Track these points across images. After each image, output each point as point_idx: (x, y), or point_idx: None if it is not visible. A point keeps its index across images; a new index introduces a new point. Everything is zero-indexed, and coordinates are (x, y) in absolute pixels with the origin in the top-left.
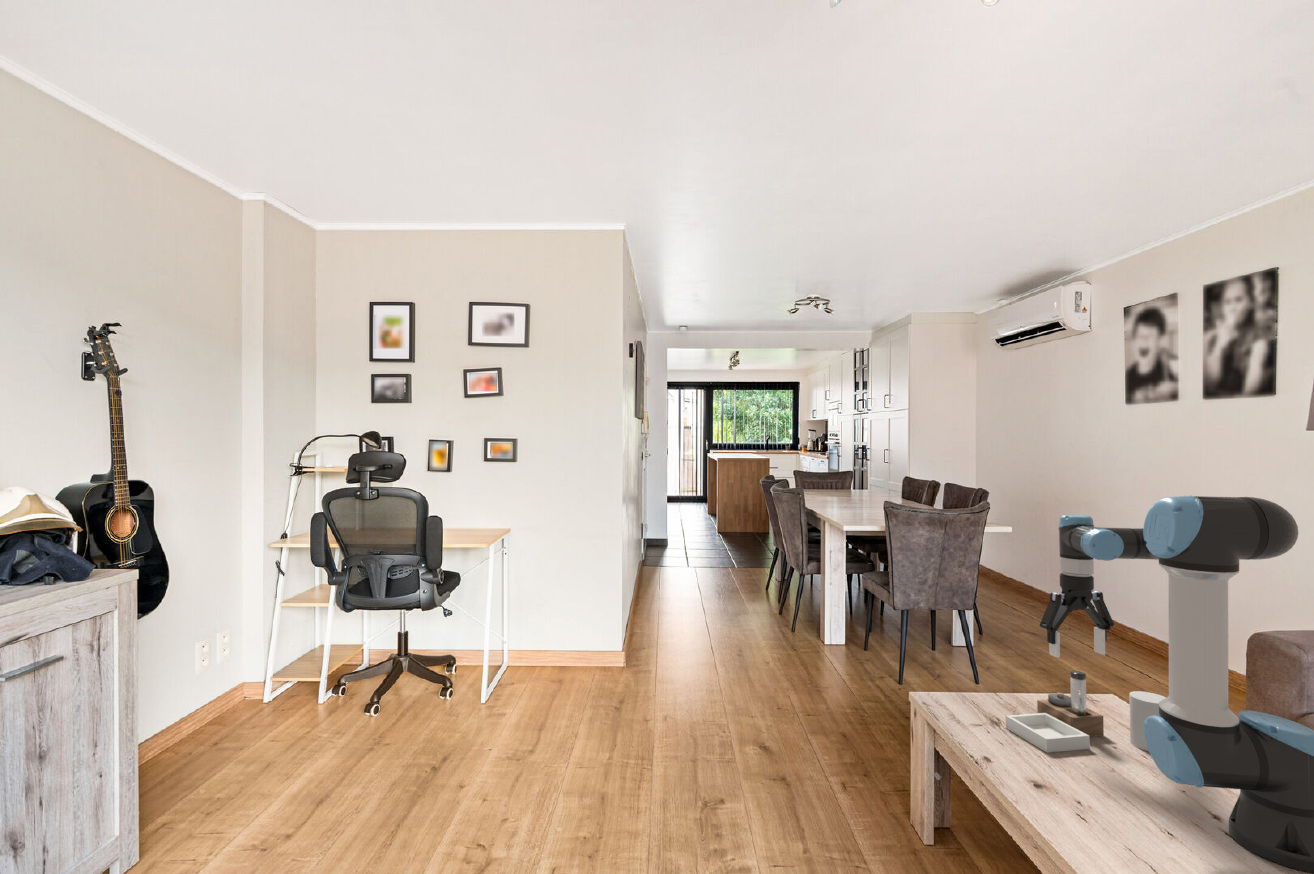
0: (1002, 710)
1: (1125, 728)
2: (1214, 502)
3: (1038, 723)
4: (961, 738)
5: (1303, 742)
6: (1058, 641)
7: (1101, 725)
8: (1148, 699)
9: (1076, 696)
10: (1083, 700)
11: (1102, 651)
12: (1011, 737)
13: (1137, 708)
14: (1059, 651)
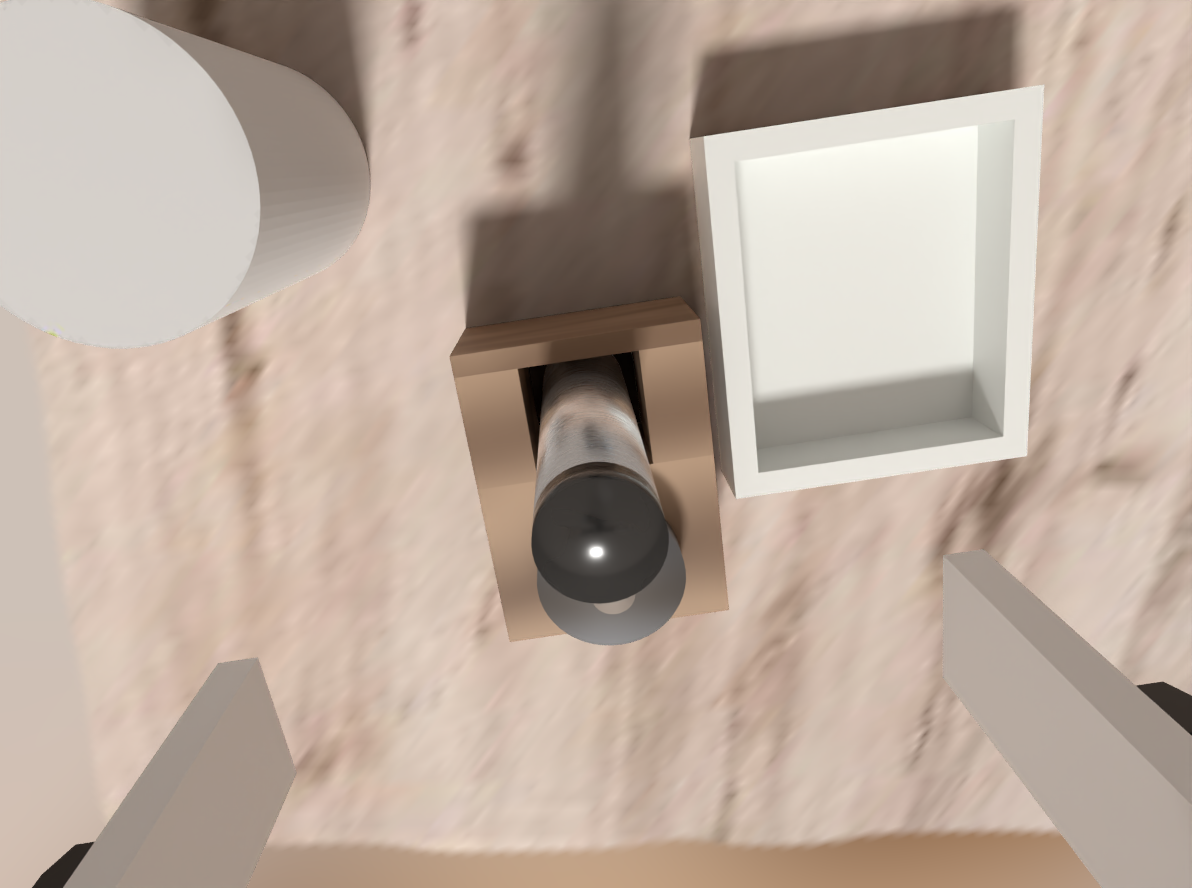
0: (834, 649)
1: (263, 419)
2: None
3: (792, 446)
4: None
5: None
6: (1109, 693)
7: (472, 340)
8: (138, 123)
9: (632, 426)
10: (586, 400)
11: (243, 688)
12: (1049, 305)
13: (279, 145)
14: (991, 598)
